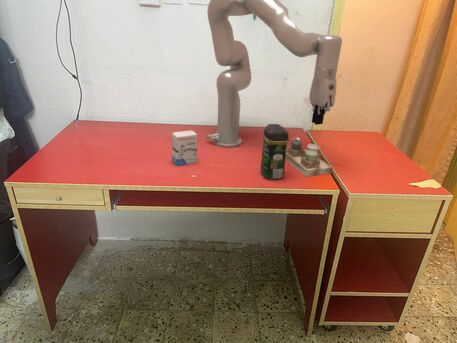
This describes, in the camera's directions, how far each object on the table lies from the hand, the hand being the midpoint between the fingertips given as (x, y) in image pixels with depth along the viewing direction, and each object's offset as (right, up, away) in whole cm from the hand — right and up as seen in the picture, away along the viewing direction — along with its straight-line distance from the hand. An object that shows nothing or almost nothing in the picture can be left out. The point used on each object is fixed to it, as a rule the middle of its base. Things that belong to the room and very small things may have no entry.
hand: (317, 123), depth 128 cm
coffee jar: (-17, -19, -2) cm, 26 cm away
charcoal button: (-6, -10, +9) cm, 15 cm away
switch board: (-3, -16, +7) cm, 17 cm away
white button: (-1, -12, +6) cm, 13 cm away
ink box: (-50, -15, +5) cm, 52 cm away
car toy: (-3, -6, +29) cm, 30 cm away
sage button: (-3, -15, 0) cm, 15 cm away
